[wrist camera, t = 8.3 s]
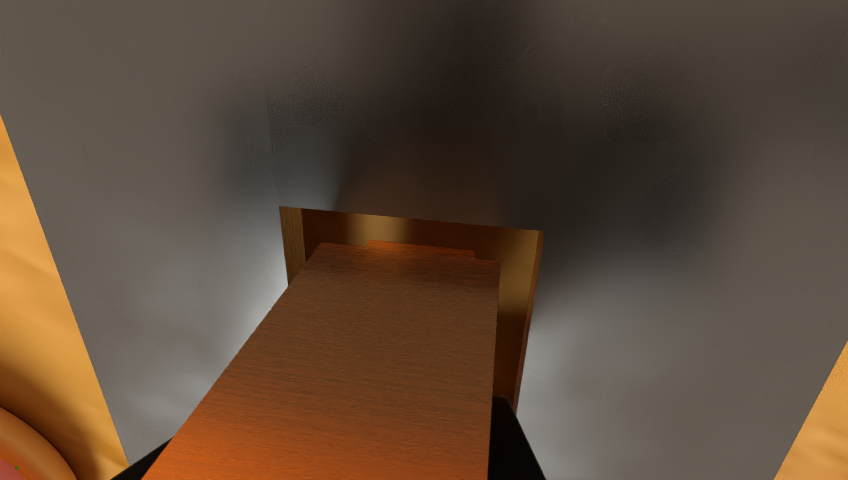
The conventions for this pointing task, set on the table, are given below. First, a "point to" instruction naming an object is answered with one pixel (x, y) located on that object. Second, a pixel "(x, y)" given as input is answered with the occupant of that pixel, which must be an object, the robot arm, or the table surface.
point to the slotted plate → (460, 195)
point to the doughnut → (28, 453)
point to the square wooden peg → (356, 375)
